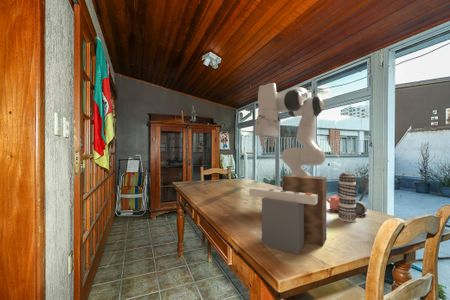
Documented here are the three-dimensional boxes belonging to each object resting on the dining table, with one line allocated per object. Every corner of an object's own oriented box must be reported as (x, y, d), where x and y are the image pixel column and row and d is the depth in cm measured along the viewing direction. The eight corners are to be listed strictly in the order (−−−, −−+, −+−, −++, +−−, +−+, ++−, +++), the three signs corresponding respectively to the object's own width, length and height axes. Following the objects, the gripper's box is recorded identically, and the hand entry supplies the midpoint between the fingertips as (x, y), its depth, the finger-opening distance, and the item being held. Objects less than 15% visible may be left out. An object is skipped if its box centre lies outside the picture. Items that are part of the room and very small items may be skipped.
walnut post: (282, 236, 89) (282, 176, 89) (288, 230, 95) (288, 174, 95) (322, 246, 79) (322, 179, 80) (326, 239, 86) (326, 177, 86)
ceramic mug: (368, 214, 121) (367, 200, 121) (365, 217, 115) (365, 203, 115) (347, 210, 128) (347, 198, 128) (344, 213, 122) (343, 200, 122)
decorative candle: (336, 220, 110) (336, 173, 110) (338, 215, 118) (338, 171, 118) (356, 223, 105) (356, 174, 105) (357, 218, 113) (357, 172, 113)
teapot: (323, 208, 134) (323, 193, 134) (342, 208, 133) (342, 193, 134) (333, 213, 122) (333, 197, 122) (353, 213, 122) (353, 197, 122)
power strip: (249, 195, 87) (249, 187, 87) (253, 194, 90) (253, 186, 90) (315, 205, 72) (315, 195, 72) (317, 202, 75) (317, 193, 75)
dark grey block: (261, 244, 81) (261, 198, 81) (270, 237, 88) (270, 195, 88) (297, 254, 73) (297, 203, 73) (303, 246, 80) (303, 199, 80)
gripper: (264, 113, 87) (264, 145, 87) (281, 119, 104) (281, 146, 103) (251, 114, 91) (251, 146, 90) (269, 120, 107) (269, 146, 107)
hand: (267, 146), depth 97 cm, fingers open, 8 cm apart
